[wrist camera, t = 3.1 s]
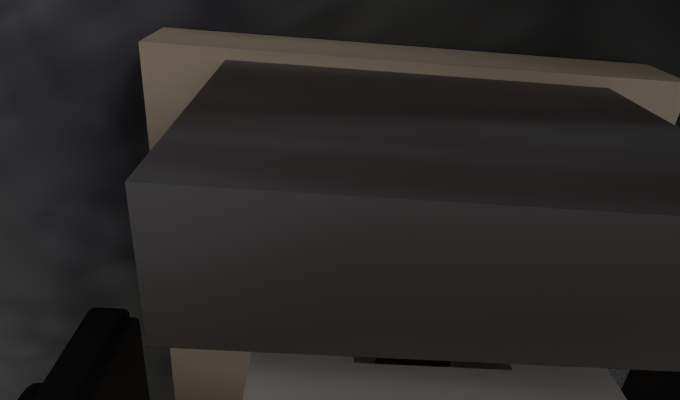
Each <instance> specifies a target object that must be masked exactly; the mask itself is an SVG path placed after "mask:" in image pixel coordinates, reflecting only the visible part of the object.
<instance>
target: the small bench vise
mask: <svg viewBox="0 0 680 400" xmlns="http://www.w3.org/2000/svg"><path fill="white" fill-rule="evenodd" d="M138 43H139V53H140V62H141V72H142V82H143V92H144V101H145V111H146V121H147V131H148V140H149V150H150V152H149V153H148V154H147V155H146V157H145V158H144V159H143V160H142V161H141V163H140V164H139V165H138V166H137V168H136V169H135V170H134V171H133V172H132V174H131V175H130V176H129V177H128V178H127V180H126V181H125V188H126V196H127V204H128V211H129V219H130V226H131V234H132V242H133V249H134V257H135V265H136V272H137V280H138V288H139V295H140V303H141V310H142V318H143V326H144V333H145V341H146V347H158V348H170V355H171V364H172V374H173V384H174V394H175V400H243V395H244V390H245V384H246V379H247V374H248V368H249V363H250V358H251V353H252V352H266V353H287V354H309V355H330V356H352V357H373V358H376V360H375V364H390V365H412V366H433V367H450V364H451V361H459V362H481V363H502V364H524V365H545V366H567V367H588V368H610V369H631V370H653V371H674V372H680V128H679V127H677V126H675V123H676V121H677V118H678V116H679V113H680V78H678V77H676V76H673V75H671V74H669V73H666V72H664V71H662V70H659V69H657V68H655V67H652V66H650V65H647V64H636V63H623V62H610V61H597V60H584V59H571V58H558V57H545V56H532V55H519V54H506V53H493V52H480V51H467V50H454V49H441V48H428V47H415V46H401V45H388V44H375V43H362V42H349V41H336V40H323V39H310V38H297V37H284V36H271V35H258V34H245V33H232V32H219V31H206V30H193V29H180V28H167V27H163V28H161V29H159V30H158V31H156V32H154V33H152V34H151V35H149V36H147V37H145V38H144V39H142V40H140V41H138Z"/></svg>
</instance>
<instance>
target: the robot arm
mask: <svg viewBox="0 0 680 400" xmlns="http://www.w3.org/2000/svg"><path fill="white" fill-rule="evenodd" d="M621 391H622V392H623V394H624V396H625V397H626V399H627V400H680V372H674V371H653V370H631V369H630V372H629V374H628V376H627V378H626V380H625V383H624V385H623V387H622V389H621ZM18 400H149V392H148V385H147V377H146V369H145V362H144V354H143V346H142V339H141V331H140V324H139V320H138V318H130V315H129V312H128V311H127V310H126V309H116V308H92V309H90V310H89V312H88V313H87V314H86V316H85V318H84V319H83V321H82V322H81V324H80V325H79V327H78V329H77V330H76V332H75V333H74V335H73V336H72V338H71V340H70V341H69V343H68V344H67V346H66V347H65V349H64V351H63V352H62V354H61V355H60V357H59V358H58V360H57V362H56V363H55V365H54V366H53V368H52V369H51V371H50V373H49V374H48V376H47V377H46V379H45V380H44V382H43V383H35V384H32V385H30V386H29V387H27V388H26V389H25V391H24V392H23V393H22V394H21V396H20V397H19V398H18Z"/></svg>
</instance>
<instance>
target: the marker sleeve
mask: <svg viewBox="0 0 680 400" xmlns="http://www.w3.org/2000/svg"><path fill="white" fill-rule="evenodd" d="M375 360H376V358H373V357H352V356H330V355H309V354H287V353H266V352H252V353H251V358H250V363H249V368H248V374H247V379H246V384H245V390H244V395H243V400H627V399H626V397H625V396H624V394H623V392H622V391H621V389H620V388H619V386H618V384H617V383H616V381H615V380H614V378H613V377H612V375H611V373H610V372H609V370H608V369H607V368H588V367H567V366H545V365H524V364H502V363H481V362H459V361H451V364H450V367H433V366H412V365H390V364H375Z"/></svg>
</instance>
